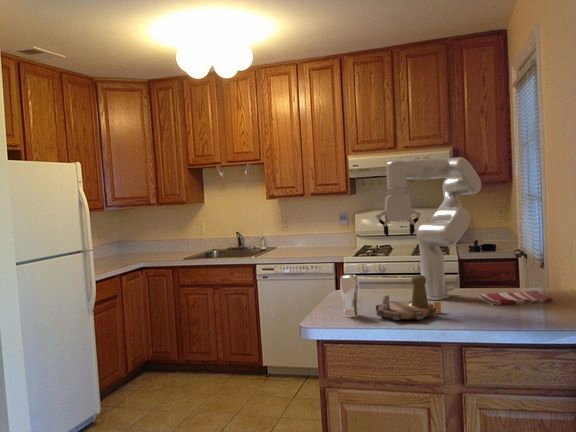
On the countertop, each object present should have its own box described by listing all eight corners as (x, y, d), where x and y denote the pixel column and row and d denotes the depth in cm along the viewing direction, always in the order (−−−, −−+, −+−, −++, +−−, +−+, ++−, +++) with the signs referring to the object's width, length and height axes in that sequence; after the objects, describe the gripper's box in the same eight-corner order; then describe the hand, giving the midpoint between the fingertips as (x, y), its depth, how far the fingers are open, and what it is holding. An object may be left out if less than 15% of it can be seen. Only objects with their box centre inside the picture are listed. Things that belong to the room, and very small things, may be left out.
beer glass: (355, 318, 183) (353, 278, 182) (338, 316, 187) (336, 277, 186) (363, 314, 189) (361, 274, 188) (346, 312, 193) (344, 274, 192)
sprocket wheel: (416, 303, 196) (416, 285, 196) (448, 315, 175) (447, 295, 175) (365, 309, 190) (364, 291, 190) (391, 322, 169) (390, 302, 169)
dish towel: (554, 304, 190) (554, 297, 190) (492, 307, 191) (492, 300, 191) (534, 295, 207) (533, 288, 207) (477, 297, 208) (477, 291, 208)
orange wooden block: (424, 307, 193) (423, 297, 193) (444, 314, 182) (444, 303, 182) (382, 314, 186) (381, 304, 186) (401, 321, 175) (400, 310, 175)
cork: (429, 303, 185) (428, 274, 184) (426, 307, 179) (425, 277, 179) (413, 302, 187) (412, 274, 187) (409, 306, 182) (408, 276, 181)
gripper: (417, 191, 199) (419, 233, 200) (374, 193, 200) (376, 235, 201) (421, 191, 192) (423, 235, 192) (376, 193, 193) (378, 237, 193)
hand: (399, 235), depth 197 cm, fingers open, 9 cm apart
